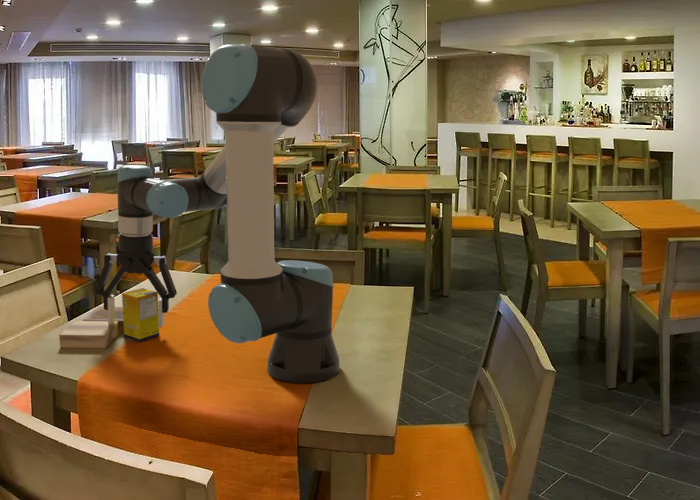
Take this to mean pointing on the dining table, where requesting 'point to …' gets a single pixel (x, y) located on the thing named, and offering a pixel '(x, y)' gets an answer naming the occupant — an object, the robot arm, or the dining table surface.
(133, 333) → the supplement box
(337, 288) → the dining table surface
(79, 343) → the oak stand
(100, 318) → the walnut stand
